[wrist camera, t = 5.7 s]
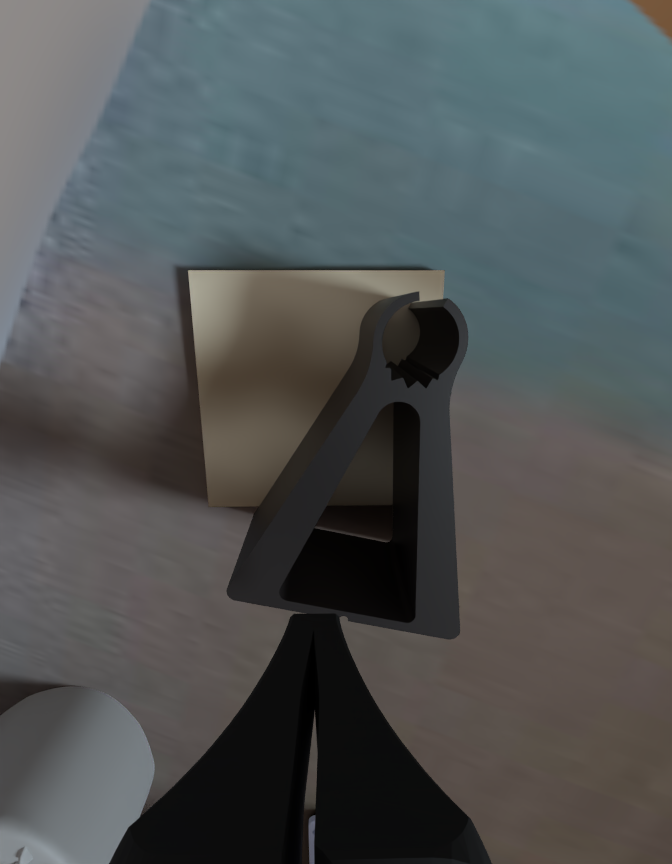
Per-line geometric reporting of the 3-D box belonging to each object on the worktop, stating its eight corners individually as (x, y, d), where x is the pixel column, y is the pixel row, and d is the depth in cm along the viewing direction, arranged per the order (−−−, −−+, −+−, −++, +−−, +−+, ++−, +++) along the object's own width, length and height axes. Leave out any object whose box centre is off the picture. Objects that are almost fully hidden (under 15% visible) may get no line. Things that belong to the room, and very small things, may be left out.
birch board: (426, 498, 22) (430, 504, 22) (212, 500, 22) (208, 506, 21) (439, 272, 19) (444, 270, 19) (193, 272, 19) (188, 270, 18)
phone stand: (224, 598, 16) (288, 258, 13) (252, 522, 22) (301, 275, 19) (456, 642, 17) (571, 328, 13) (424, 557, 22) (498, 324, 19)
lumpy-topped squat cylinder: (-36, 816, 28) (-192, 1033, 19) (4, 661, 25) (-161, 840, 16) (123, 856, 29) (41, 1075, 21) (180, 713, 26) (110, 904, 18)
